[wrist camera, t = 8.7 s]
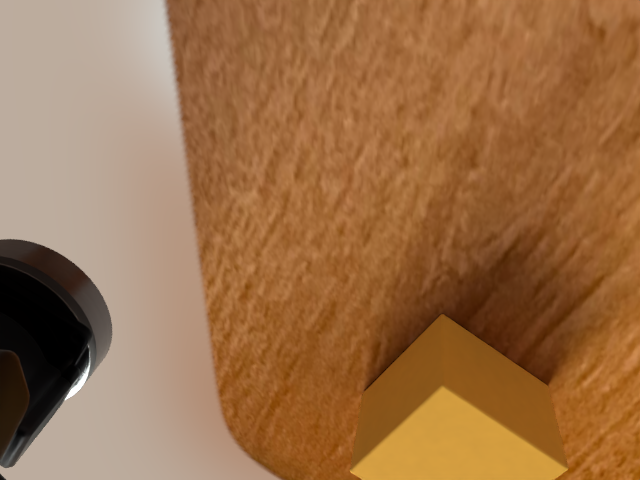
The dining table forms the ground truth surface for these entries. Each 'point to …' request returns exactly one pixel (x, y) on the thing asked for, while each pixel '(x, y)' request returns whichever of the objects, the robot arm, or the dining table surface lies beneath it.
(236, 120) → the dining table surface
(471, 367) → the yellow toy cube
